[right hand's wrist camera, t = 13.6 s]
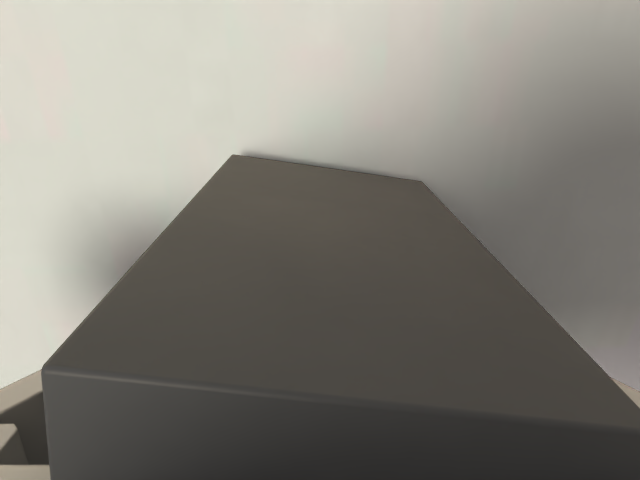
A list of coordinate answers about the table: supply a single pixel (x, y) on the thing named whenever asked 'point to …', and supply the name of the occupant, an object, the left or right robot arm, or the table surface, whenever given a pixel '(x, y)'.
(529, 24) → the table surface
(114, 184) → the table surface
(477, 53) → the table surface
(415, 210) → the box
